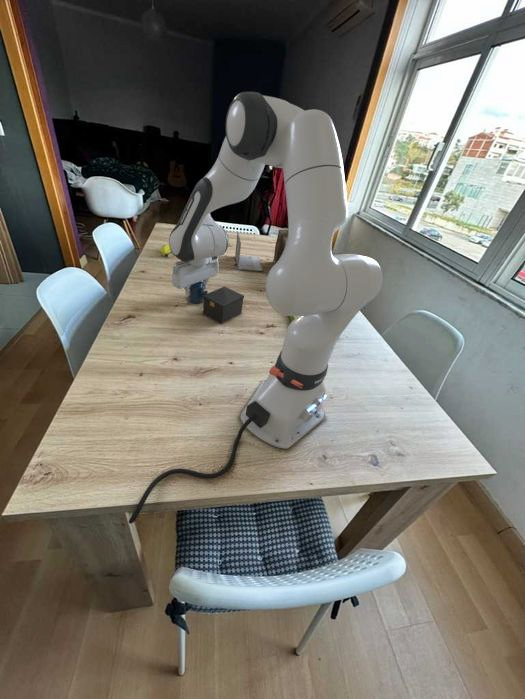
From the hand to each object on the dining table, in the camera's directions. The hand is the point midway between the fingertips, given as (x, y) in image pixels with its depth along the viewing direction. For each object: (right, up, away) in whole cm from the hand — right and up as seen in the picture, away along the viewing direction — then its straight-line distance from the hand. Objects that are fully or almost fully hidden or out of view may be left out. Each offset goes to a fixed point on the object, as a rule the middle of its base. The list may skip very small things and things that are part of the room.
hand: (196, 291), depth 111 cm
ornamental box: (+41, +15, +35) cm, 56 cm away
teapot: (0, -3, +2) cm, 3 cm away
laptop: (+18, +22, +39) cm, 48 cm away
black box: (+11, -9, -3) cm, 14 cm away
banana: (-17, +26, +36) cm, 47 cm away
